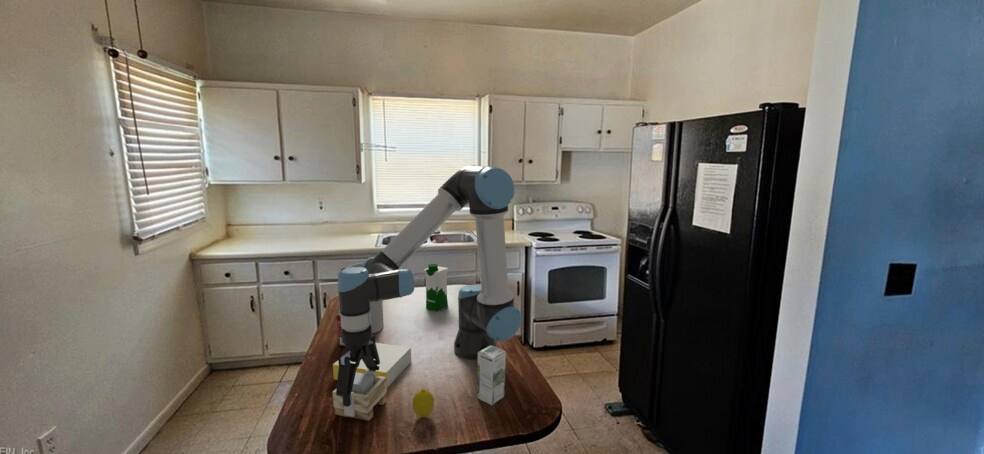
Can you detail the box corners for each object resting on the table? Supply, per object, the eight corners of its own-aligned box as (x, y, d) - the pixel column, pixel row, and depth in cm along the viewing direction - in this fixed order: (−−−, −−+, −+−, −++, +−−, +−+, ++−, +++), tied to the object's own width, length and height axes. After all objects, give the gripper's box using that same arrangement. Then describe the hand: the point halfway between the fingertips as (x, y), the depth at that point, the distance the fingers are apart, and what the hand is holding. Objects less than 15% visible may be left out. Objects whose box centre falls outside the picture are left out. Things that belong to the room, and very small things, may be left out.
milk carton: (422, 308, 185) (421, 265, 181) (436, 302, 193) (435, 260, 189) (438, 312, 180) (437, 268, 177) (451, 306, 188) (450, 263, 184)
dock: (411, 361, 139) (410, 347, 138) (386, 388, 124) (386, 372, 123) (363, 354, 144) (362, 340, 143) (333, 379, 128) (332, 364, 127)
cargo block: (373, 388, 115) (372, 375, 114) (363, 399, 110) (362, 385, 110) (357, 386, 116) (356, 373, 116) (347, 396, 112) (346, 382, 111)
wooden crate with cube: (387, 399, 118) (386, 377, 116) (368, 421, 108) (366, 397, 107) (355, 394, 120) (354, 372, 119) (334, 415, 111) (332, 391, 109)
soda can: (351, 348, 148) (349, 316, 146) (334, 346, 149) (332, 314, 147) (361, 340, 155) (359, 309, 152) (344, 338, 156) (342, 307, 154)
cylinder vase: (346, 327, 166) (342, 266, 161) (376, 319, 173) (373, 261, 168) (356, 338, 156) (353, 273, 151) (388, 330, 163) (385, 268, 159)
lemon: (435, 410, 113) (434, 383, 112) (433, 423, 108) (432, 395, 106) (414, 410, 113) (413, 383, 112) (411, 423, 108) (410, 395, 106)
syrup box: (489, 389, 123) (489, 343, 120) (505, 397, 119) (506, 350, 117) (476, 398, 119) (476, 351, 116) (492, 406, 115) (493, 357, 112)
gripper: (366, 309, 121) (371, 379, 126) (315, 344, 100) (322, 427, 104) (390, 311, 120) (393, 382, 124) (343, 347, 98) (349, 432, 102)
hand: (361, 403), depth 114 cm, fingers closed on wooden crate with cube, 10 cm apart
